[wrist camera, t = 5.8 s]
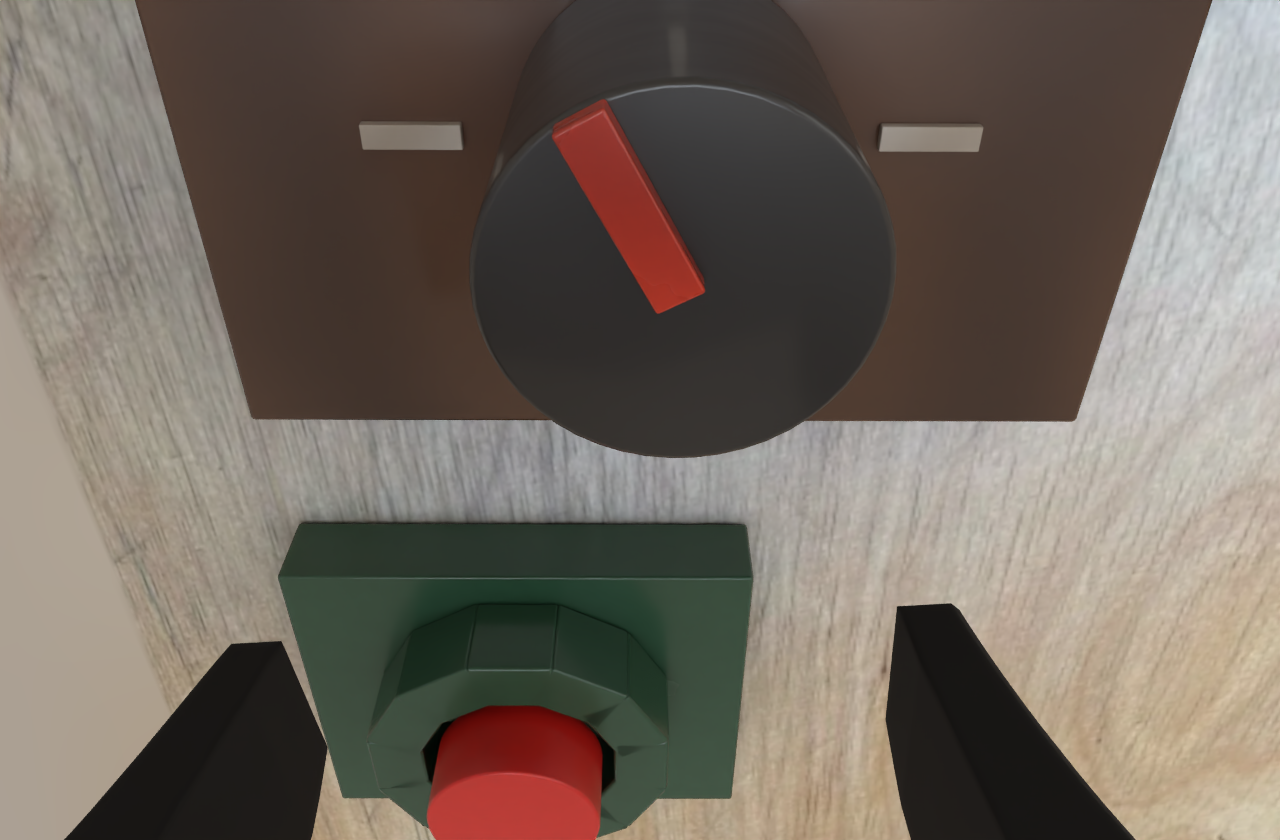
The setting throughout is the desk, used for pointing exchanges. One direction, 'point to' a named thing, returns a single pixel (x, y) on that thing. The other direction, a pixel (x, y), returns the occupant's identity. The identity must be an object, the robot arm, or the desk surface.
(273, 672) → the robot arm
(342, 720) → the button box
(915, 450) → the desk surface
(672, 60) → the rotary knob
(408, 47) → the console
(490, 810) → the button
